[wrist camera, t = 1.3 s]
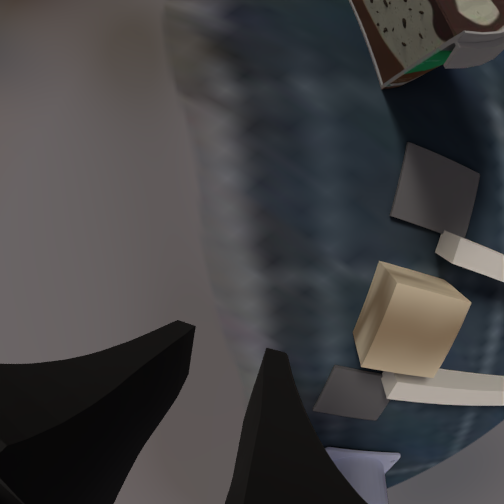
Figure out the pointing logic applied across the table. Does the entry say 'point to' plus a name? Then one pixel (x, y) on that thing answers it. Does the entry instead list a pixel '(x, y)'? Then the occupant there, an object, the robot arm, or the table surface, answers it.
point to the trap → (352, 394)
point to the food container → (428, 35)
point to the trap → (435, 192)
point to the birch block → (408, 321)
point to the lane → (448, 381)
